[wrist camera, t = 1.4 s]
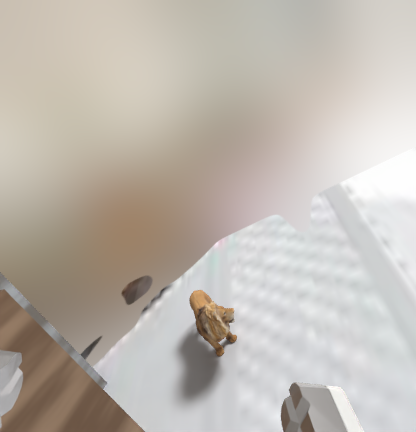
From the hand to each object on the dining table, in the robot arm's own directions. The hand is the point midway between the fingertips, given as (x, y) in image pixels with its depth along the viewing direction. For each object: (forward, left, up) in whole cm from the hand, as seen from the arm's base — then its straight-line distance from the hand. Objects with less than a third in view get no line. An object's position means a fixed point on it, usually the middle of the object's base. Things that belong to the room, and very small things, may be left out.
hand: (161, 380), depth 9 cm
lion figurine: (-11, -29, -26) cm, 40 cm away
